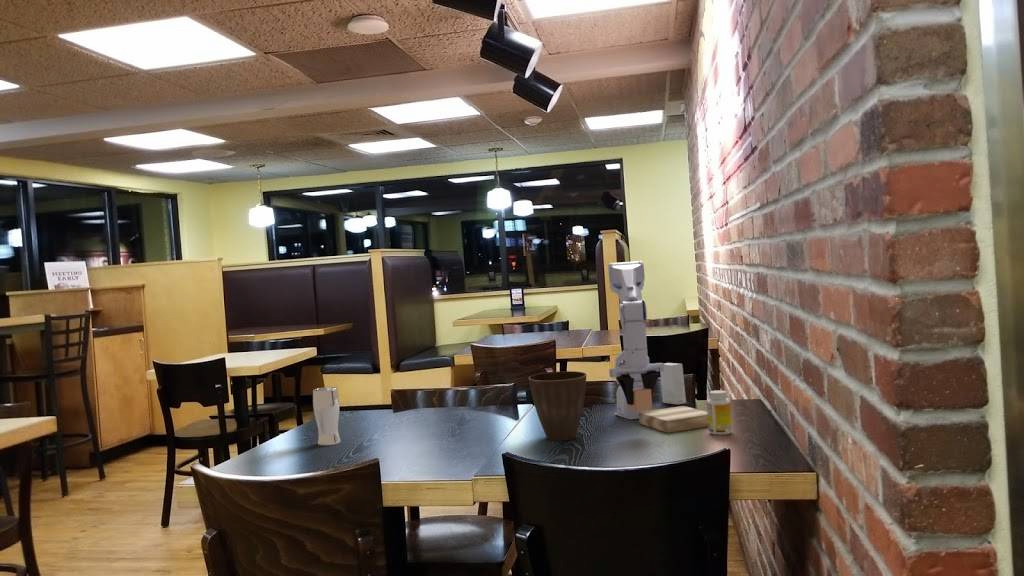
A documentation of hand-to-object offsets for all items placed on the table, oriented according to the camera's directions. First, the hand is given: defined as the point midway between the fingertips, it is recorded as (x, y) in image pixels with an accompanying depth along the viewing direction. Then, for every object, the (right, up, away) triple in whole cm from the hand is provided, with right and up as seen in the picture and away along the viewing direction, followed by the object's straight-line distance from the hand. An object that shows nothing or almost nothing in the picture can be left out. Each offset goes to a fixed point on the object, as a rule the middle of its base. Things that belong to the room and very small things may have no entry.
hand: (639, 402), depth 178 cm
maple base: (+12, -7, +10) cm, 17 cm away
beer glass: (-82, -14, +18) cm, 85 cm away
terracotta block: (0, -2, 0) cm, 2 cm away
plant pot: (-19, -10, +5) cm, 22 cm away
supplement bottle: (+20, -7, -3) cm, 21 cm away
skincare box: (+18, -7, +40) cm, 45 cm away
